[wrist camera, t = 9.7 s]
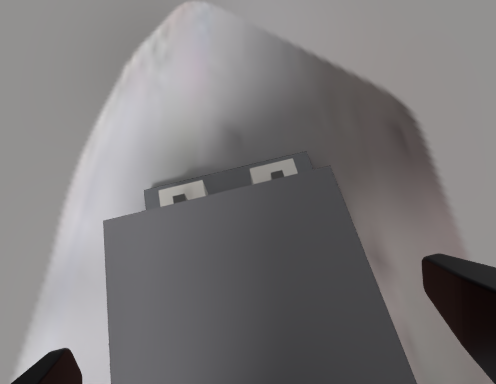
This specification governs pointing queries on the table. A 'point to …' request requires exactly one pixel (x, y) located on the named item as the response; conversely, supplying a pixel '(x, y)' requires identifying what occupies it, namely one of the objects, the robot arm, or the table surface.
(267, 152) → the table surface
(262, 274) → the cap
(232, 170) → the panel
